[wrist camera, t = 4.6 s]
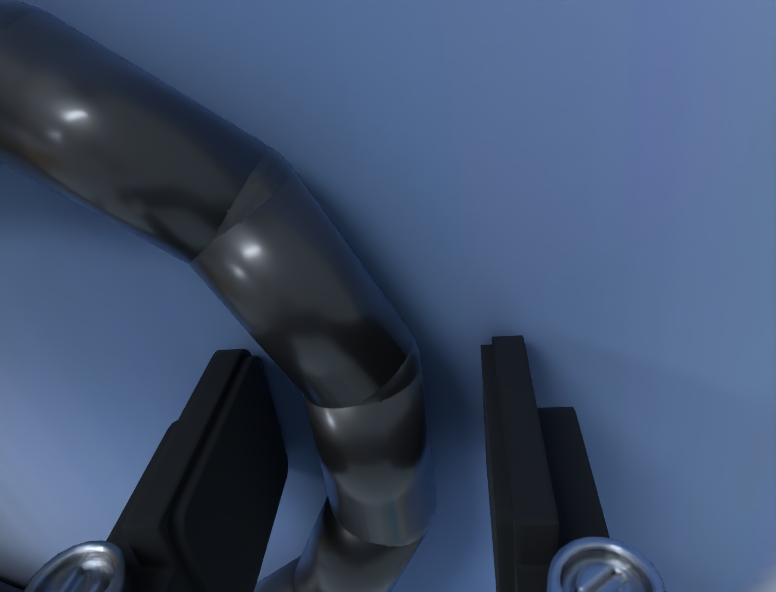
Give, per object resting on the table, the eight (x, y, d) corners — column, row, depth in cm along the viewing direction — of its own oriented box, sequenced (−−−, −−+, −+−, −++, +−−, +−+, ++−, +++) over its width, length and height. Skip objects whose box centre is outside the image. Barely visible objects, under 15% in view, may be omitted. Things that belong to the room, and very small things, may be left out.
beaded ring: (-96, 633, 18) (-154, 708, 16) (-651, 29, 9) (-895, 52, 8) (455, 641, 16) (457, 728, 14) (375, -126, 7) (353, -140, 6)
